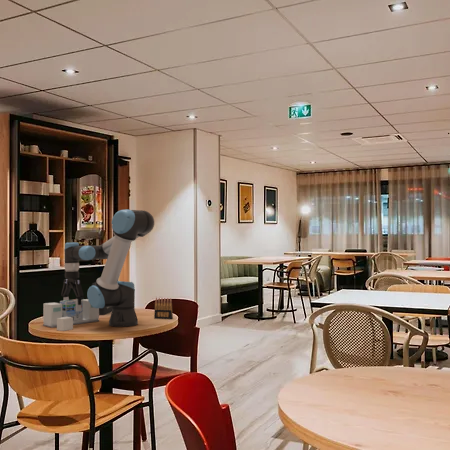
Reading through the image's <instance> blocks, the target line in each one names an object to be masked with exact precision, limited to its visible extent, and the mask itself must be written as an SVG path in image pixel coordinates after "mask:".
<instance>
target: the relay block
mask: <svg viewBox="0 0 450 450" xmlns="http://www.w3.org/2000/svg"><path fill="white" fill-rule="evenodd" d="M72 330H74V325H73V317H62V318H57V327H56V331H60V332H67V331H72Z"/></svg>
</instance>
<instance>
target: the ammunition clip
mask: <svg viewBox="0 0 450 450" xmlns="http://www.w3.org/2000/svg"><path fill="white" fill-rule="evenodd" d="M154 301H155V302H154V314H153V315H154V316H153V318H154V320H156V319H157V320H173V319H174V316H173V313H174V312H173V303H172V302H173V301H172V297H170V298H169V297H167V298H166V297H164V299H163V297H161V298H160V297H155V299H154Z"/></svg>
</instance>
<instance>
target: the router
mask: <svg viewBox="0 0 450 450" xmlns="http://www.w3.org/2000/svg"><path fill="white" fill-rule="evenodd" d="M95 283H96V281H95V282H92V283H91V286H93V285H95ZM109 313H112V306H111V307H105V308H99V316H106V315H108V314H109Z"/></svg>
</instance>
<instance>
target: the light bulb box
mask: <svg viewBox="0 0 450 450" xmlns="http://www.w3.org/2000/svg"><path fill="white" fill-rule="evenodd" d="M83 300H84V299H81V311H76V298H75V299H69V300H65V301H64V300H60V301H59V303H60V304H62V317H73V321H76V320H83Z"/></svg>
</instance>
